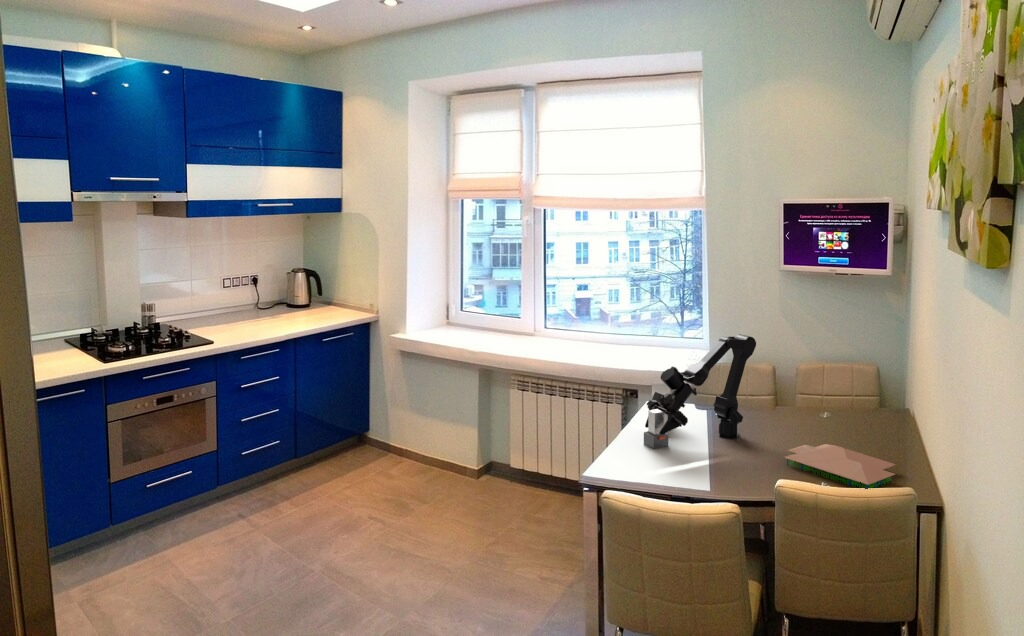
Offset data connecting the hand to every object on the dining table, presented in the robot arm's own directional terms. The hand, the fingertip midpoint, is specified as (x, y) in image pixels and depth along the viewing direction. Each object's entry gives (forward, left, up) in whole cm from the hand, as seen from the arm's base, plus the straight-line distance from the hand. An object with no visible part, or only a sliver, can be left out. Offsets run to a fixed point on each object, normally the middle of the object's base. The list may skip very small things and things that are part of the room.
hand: (653, 430), depth 267 cm
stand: (-1, -1, -7) cm, 7 cm away
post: (-1, -1, -6) cm, 6 cm away
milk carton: (+3, -24, -7) cm, 25 cm away
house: (-63, -3, -8) cm, 63 cm away
